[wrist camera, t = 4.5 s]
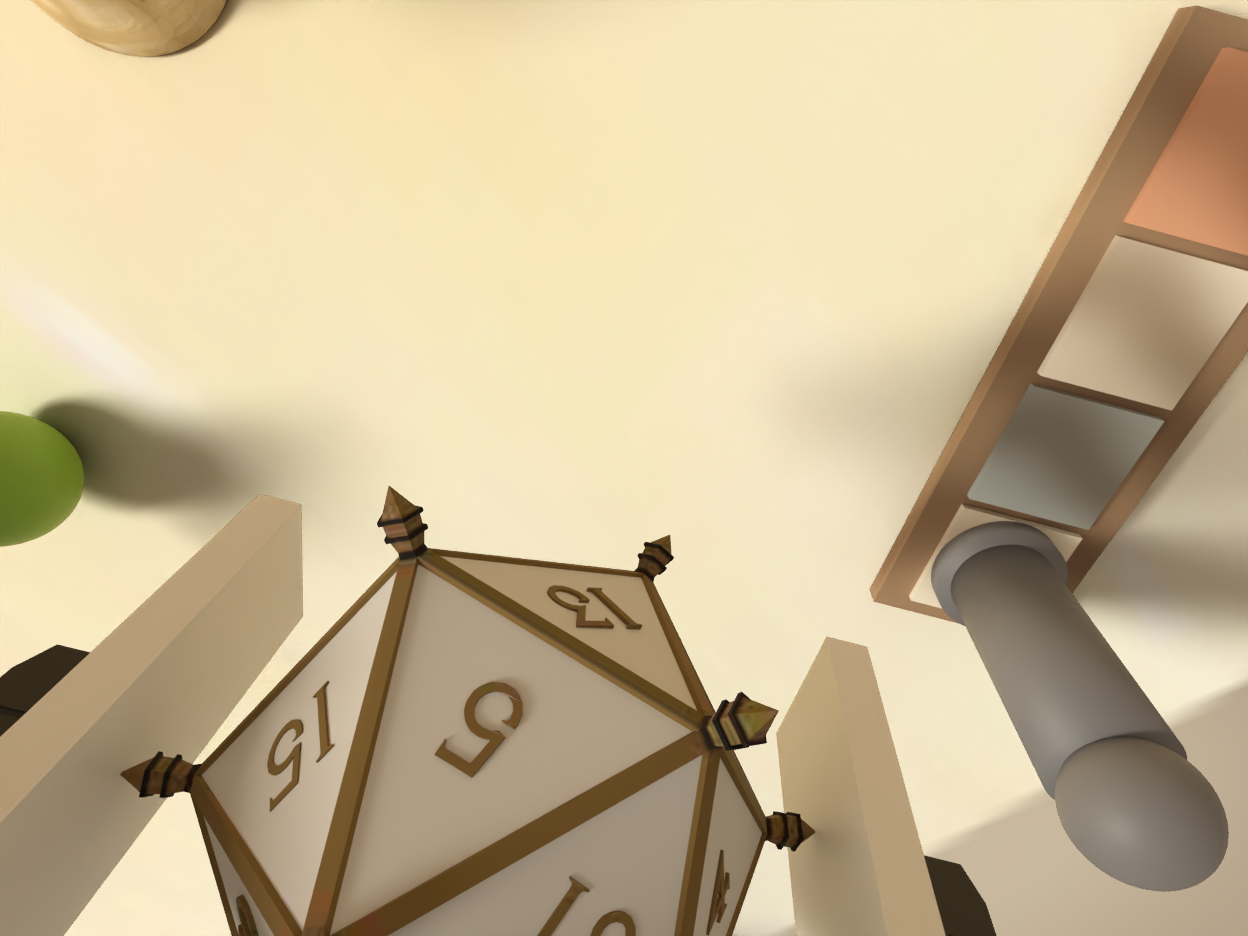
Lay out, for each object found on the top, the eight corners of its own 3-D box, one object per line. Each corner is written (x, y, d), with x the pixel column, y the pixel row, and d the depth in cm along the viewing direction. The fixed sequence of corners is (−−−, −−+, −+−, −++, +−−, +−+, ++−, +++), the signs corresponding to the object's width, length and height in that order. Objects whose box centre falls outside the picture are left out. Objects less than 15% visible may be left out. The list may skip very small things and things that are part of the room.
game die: (667, 507, 16) (1054, 935, 10) (424, 753, 17) (629, 1312, 10) (366, 264, 10) (936, 1098, 3) (-15, 683, 10) (-229, 2116, 4)
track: (1028, 629, 29) (1039, 648, 28) (869, 589, 29) (875, 606, 28) (1419, 75, 19) (1457, 75, 18) (1178, 8, 19) (1203, 4, 18)
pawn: (1019, 628, 28) (1207, 950, 18) (910, 600, 28) (1034, 908, 17) (1082, 538, 26) (1340, 845, 15) (964, 507, 26) (1144, 796, 15)
